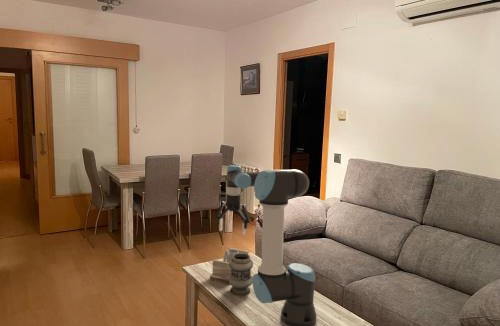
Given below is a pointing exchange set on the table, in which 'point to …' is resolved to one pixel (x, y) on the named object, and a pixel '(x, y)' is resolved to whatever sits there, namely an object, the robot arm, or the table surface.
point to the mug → (229, 254)
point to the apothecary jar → (240, 274)
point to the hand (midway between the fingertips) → (232, 232)
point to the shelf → (222, 269)
